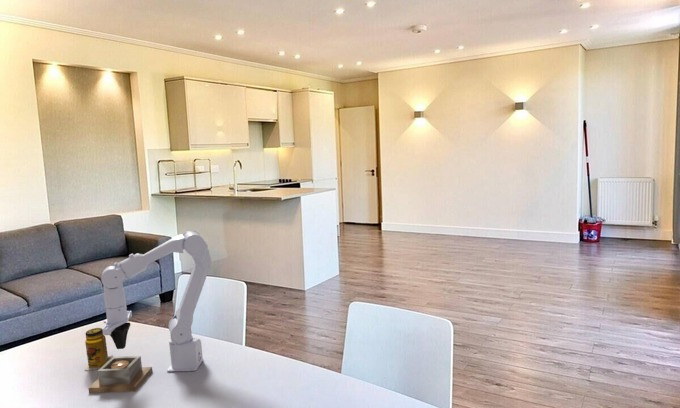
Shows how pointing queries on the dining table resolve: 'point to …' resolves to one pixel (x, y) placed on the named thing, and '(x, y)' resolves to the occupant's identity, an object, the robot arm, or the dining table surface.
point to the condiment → (96, 349)
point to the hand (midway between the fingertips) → (121, 348)
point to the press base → (121, 376)
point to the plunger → (120, 364)
